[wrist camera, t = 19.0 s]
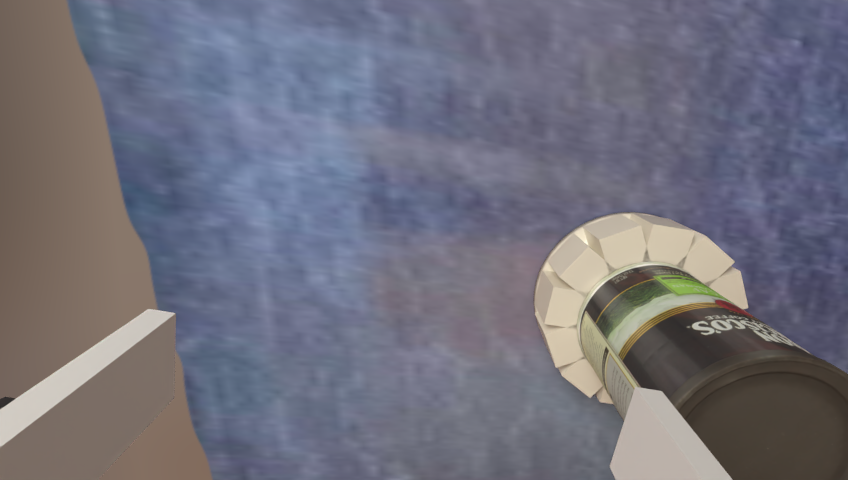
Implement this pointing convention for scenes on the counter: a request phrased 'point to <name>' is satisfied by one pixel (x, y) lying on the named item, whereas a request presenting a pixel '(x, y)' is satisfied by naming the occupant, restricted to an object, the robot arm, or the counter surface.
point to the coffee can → (717, 373)
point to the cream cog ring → (601, 255)
